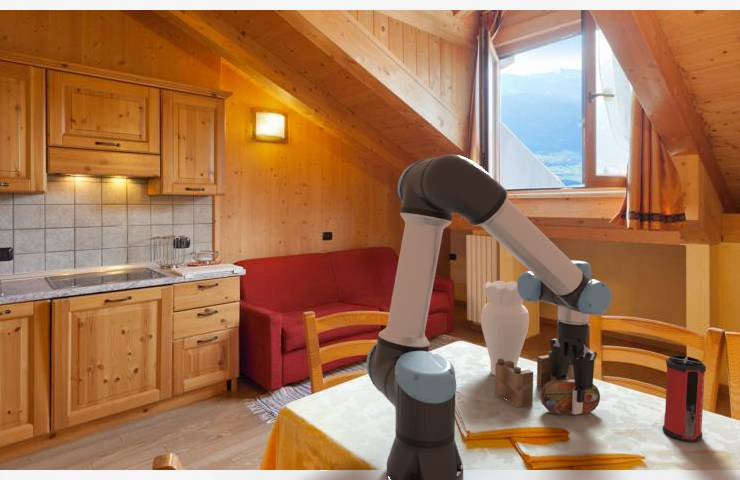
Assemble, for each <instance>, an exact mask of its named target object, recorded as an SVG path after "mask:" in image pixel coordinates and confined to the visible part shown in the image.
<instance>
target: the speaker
mask: <svg viewBox="0 0 740 480" xmlns="http://www.w3.org/2000/svg"><path fill="white" fill-rule="evenodd" d="M665 363H666V365H665V366H666V388H665V405H664V406H665V408H664V409H665V411H664V412H665V413H664V421H663V426H662V431H663V432H665V434H667V435H668V436H669V437H670V438H673V439H675V440H676V439H678V440H681V441H683V442H688V443H692V442H698V441H701V440H702V439H703V432H702V430H703V429H702V427H703V412H704V411H703V409H704V408H703V407H704V391H705V377H706V376H705V374H706V373H705V372H706V371H707V366H706V365H705V364H704V363H703V362H702V360H700V359H698V358H695V357H692V356H685V355H671V356H669V357H668V358H667V359H665Z"/></svg>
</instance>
